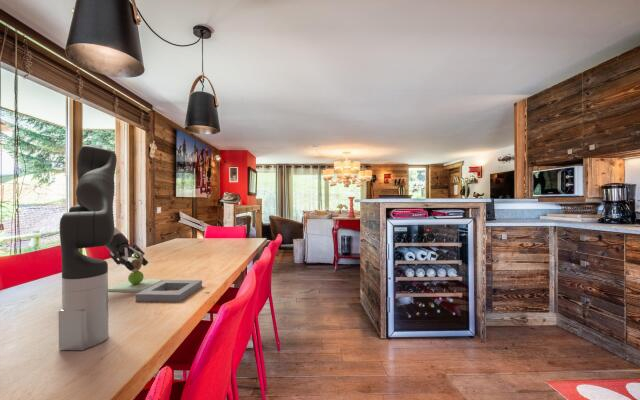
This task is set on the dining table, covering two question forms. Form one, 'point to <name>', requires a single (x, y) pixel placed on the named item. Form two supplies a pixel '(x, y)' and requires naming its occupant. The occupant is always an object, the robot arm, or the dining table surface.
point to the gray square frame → (169, 296)
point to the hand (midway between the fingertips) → (139, 266)
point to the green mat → (134, 286)
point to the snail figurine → (136, 272)
